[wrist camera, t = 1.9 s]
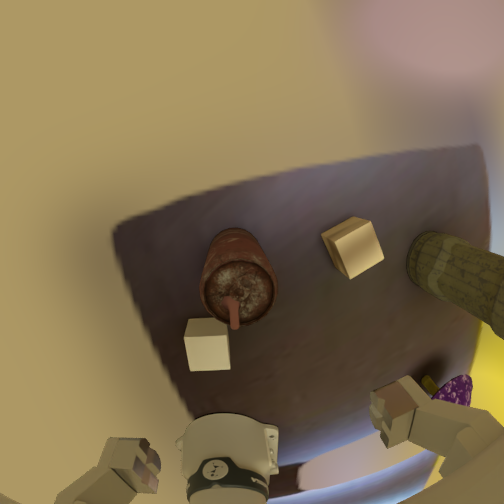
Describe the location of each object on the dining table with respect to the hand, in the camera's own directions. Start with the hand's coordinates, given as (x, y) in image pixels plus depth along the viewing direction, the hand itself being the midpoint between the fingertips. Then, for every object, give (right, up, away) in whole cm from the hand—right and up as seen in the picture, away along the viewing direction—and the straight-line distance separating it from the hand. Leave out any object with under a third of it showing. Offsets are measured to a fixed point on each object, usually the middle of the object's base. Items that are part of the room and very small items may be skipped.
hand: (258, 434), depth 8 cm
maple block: (+12, +8, +27) cm, 31 cm away
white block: (-6, -5, +29) cm, 29 cm away
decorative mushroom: (+33, -18, +35) cm, 52 cm away
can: (-2, +6, +26) cm, 27 cm away
